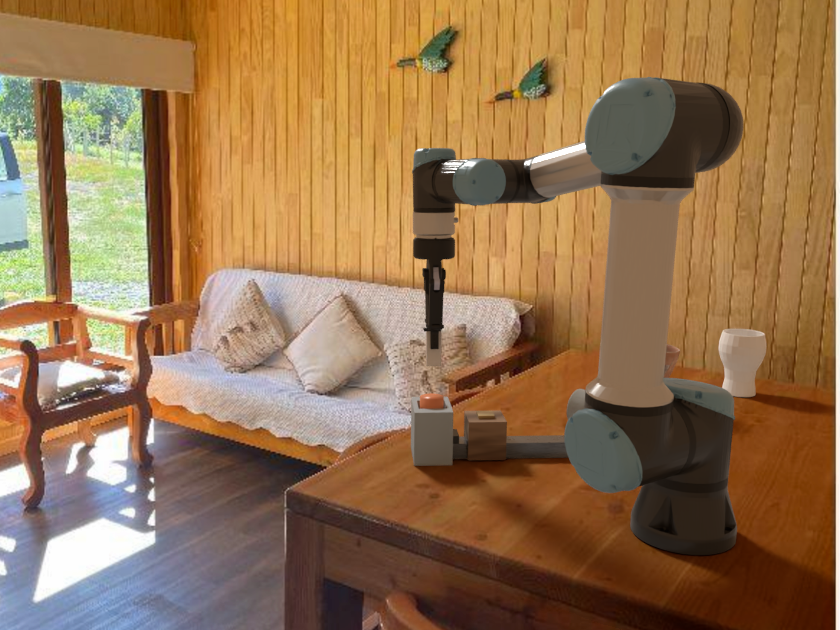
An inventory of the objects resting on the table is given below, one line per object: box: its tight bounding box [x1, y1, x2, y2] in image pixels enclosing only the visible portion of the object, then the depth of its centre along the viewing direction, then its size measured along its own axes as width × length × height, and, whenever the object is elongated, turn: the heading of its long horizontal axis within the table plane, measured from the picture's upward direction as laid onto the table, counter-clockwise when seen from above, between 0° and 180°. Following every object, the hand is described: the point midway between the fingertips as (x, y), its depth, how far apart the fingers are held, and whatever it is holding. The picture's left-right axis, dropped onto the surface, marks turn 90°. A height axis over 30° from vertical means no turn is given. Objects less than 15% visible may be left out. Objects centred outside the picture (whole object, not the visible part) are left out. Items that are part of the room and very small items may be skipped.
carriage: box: [463, 410, 508, 461], centre depth 153 cm, size 7×7×8 cm
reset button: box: [419, 392, 445, 409], centre depth 152 cm, size 4×4×6 cm
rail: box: [453, 428, 569, 460], centre depth 154 cm, size 4×24×4 cm, turn 94°
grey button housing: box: [410, 396, 454, 467], centre depth 153 cm, size 10×7×10 cm
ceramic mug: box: [566, 388, 585, 421], centre depth 172 cm, size 11×8×8 cm
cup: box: [718, 328, 767, 398], centre depth 197 cm, size 11×11×15 cm
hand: (433, 365), depth 150 cm, fingers closed
